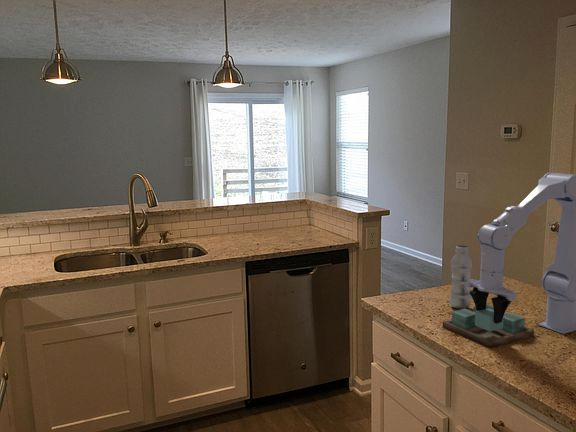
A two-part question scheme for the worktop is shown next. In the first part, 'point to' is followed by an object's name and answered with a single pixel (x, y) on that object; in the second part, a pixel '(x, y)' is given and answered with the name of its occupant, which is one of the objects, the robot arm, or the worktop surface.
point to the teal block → (487, 320)
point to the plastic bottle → (460, 278)
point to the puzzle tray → (466, 327)
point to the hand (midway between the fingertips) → (489, 319)
